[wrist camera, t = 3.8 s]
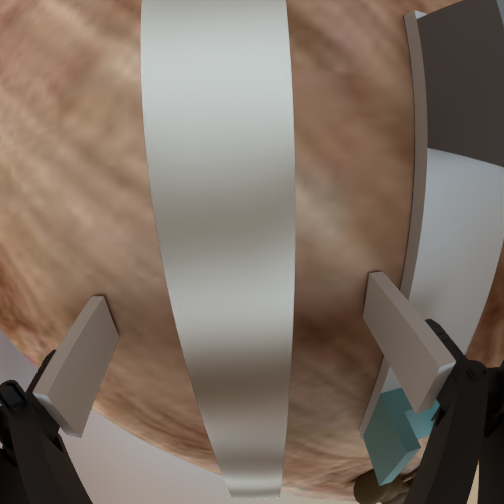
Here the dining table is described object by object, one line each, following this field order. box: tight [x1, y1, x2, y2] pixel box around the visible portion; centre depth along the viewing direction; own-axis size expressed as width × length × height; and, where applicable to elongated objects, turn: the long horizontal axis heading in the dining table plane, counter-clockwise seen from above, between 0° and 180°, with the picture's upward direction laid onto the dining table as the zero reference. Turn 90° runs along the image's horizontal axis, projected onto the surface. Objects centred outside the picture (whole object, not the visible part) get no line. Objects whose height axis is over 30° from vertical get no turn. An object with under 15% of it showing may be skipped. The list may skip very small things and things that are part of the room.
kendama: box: [354, 469, 415, 504], centre depth 26 cm, size 6×10×20 cm
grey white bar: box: [141, 0, 295, 500], centre depth 12 cm, size 30×4×5 cm, turn 3°
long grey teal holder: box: [358, 0, 504, 486], centre depth 11 cm, size 28×7×6 cm, turn 4°
